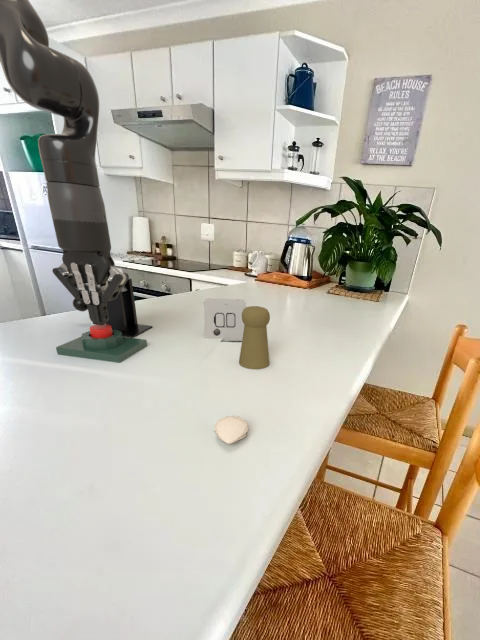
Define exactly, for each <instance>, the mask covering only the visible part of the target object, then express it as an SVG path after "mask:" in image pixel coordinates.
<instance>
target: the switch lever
mask: <svg viewBox="0 0 480 640" xmlns="http://www.w3.org/2000/svg"><path fill="white" fill-rule="evenodd" d="M125 291H127V289H126V287H125V285H124V287H123V288H122V293H123V292H125ZM72 307H73V308H74V309H75V310H76V311H78V312H87V311H88V307H87V304H86V303H85V302H84V301H83V300H81V299H75V298H74V299H73V300H72Z"/></svg>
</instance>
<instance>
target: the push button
mask: <svg viewBox="0 0 480 640" xmlns="http://www.w3.org/2000/svg"><path fill="white" fill-rule="evenodd" d="M88 329H89V331H90V334H91V337H94V338H105V337H110V336H112V335H113V332H112V327H111V326H110V325H106V324H104V325H95V324H93V325H91V326H89V328H88Z"/></svg>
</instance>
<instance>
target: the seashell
mask: <svg viewBox="0 0 480 640" xmlns="http://www.w3.org/2000/svg"><path fill="white" fill-rule="evenodd" d="M213 430H214V433H215V434H216V436H217V438H218V439H219V440H221V441H223V442H224V443H225V444H227V445H231V444H233V443H236V442H238V441H239V440H242V439H244V438H245V437H246V435H247V434H248V432H249V423H248V422H247V421H246V420H245V419H243V418H242V417H240V416H236V415H230V416H229V415H227V416H224V417H222V418H219V419H218V420H216V422H215V424H214V429H213Z"/></svg>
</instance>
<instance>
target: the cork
mask: <svg viewBox="0 0 480 640" xmlns="http://www.w3.org/2000/svg"><path fill="white" fill-rule="evenodd" d="M270 319H271V314H270V311H269V310H268V309H267V308H266V307H264V306H259V305H249V306H246V308H245V309H244V310H243V311H242V321H243V323H244V332H243V338H242V341H241V346H240V352H239V359H238V364H239V365H240V367H242V368H245V369H250V370H262V369H266V368H268V367H269V366H270V354H269V353H270V352H269V342H268V341H269V340H268V330H267V329H268V328H267V327H268V326H267V325H269V323H270Z"/></svg>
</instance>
